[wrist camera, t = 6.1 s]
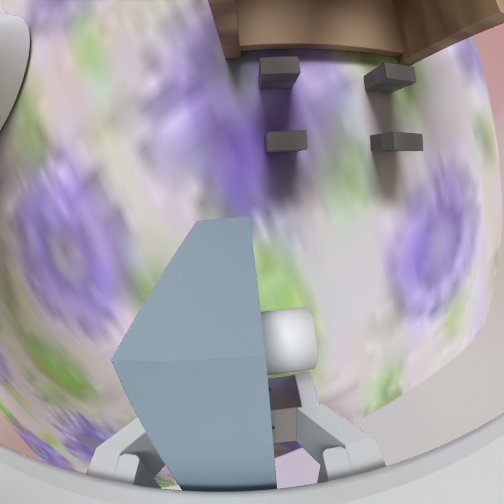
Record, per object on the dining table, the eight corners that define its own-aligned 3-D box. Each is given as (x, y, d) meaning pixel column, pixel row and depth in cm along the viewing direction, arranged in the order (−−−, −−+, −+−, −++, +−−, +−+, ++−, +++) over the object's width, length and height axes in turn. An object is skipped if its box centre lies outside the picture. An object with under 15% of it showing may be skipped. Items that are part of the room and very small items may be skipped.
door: (287, 390, 15) (312, 534, 7) (227, 396, 15) (223, 541, 7) (278, 213, 12) (354, 342, 4) (196, 221, 12) (110, 360, 4)
